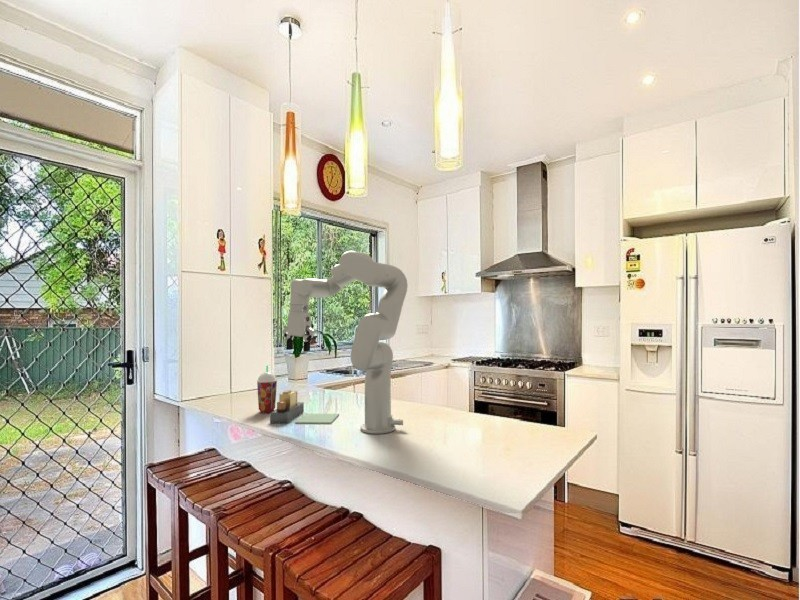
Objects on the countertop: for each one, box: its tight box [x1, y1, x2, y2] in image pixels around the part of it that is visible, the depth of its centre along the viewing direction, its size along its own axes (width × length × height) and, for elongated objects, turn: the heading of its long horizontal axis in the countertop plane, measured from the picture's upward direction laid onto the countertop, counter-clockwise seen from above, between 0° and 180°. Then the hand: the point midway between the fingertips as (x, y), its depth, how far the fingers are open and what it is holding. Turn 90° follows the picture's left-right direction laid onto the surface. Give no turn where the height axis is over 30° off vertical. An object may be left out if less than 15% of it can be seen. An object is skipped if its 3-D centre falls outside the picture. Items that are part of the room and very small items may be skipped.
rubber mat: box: [295, 413, 340, 425], centre depth 163 cm, size 14×14×1 cm
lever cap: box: [278, 389, 297, 409], centre depth 167 cm, size 4×7×7 cm, turn 176°
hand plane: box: [269, 390, 305, 425], centre depth 167 cm, size 7×20×9 cm, turn 176°
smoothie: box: [256, 365, 278, 414], centre depth 177 cm, size 8×8×20 cm
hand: (298, 350), depth 168 cm, fingers open, 9 cm apart
